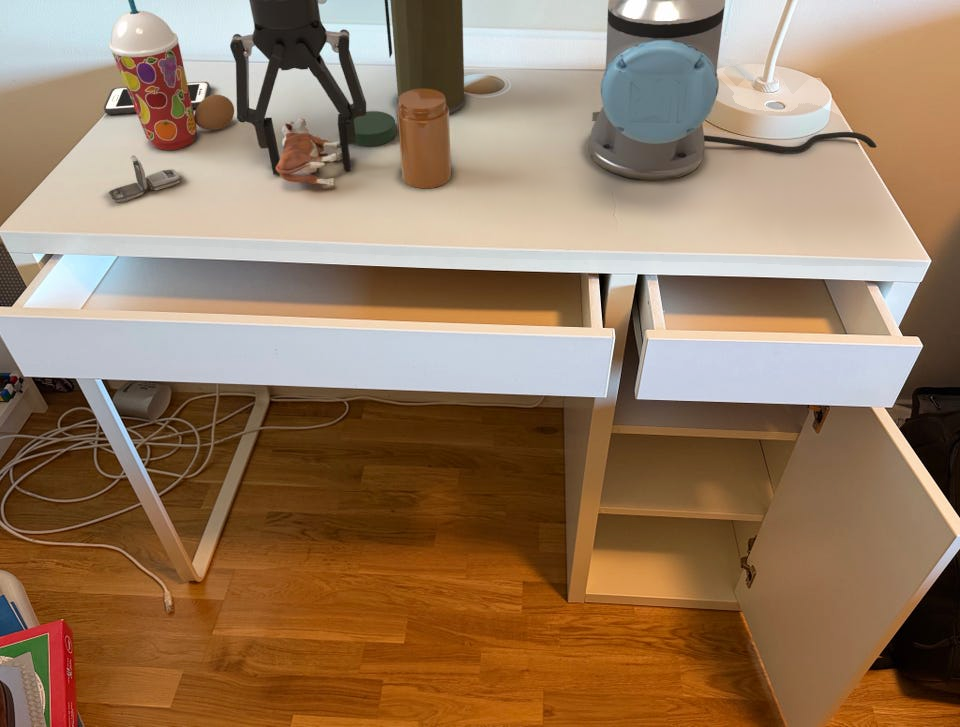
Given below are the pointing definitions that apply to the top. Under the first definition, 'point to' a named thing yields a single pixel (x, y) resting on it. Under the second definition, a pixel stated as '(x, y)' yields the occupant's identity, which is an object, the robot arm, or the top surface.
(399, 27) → the canister
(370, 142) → the lid
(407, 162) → the jar
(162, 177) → the strap clip
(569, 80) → the top surface
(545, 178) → the top surface
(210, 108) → the egg
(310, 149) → the bull figurine
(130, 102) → the cell phone
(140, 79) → the smoothie
